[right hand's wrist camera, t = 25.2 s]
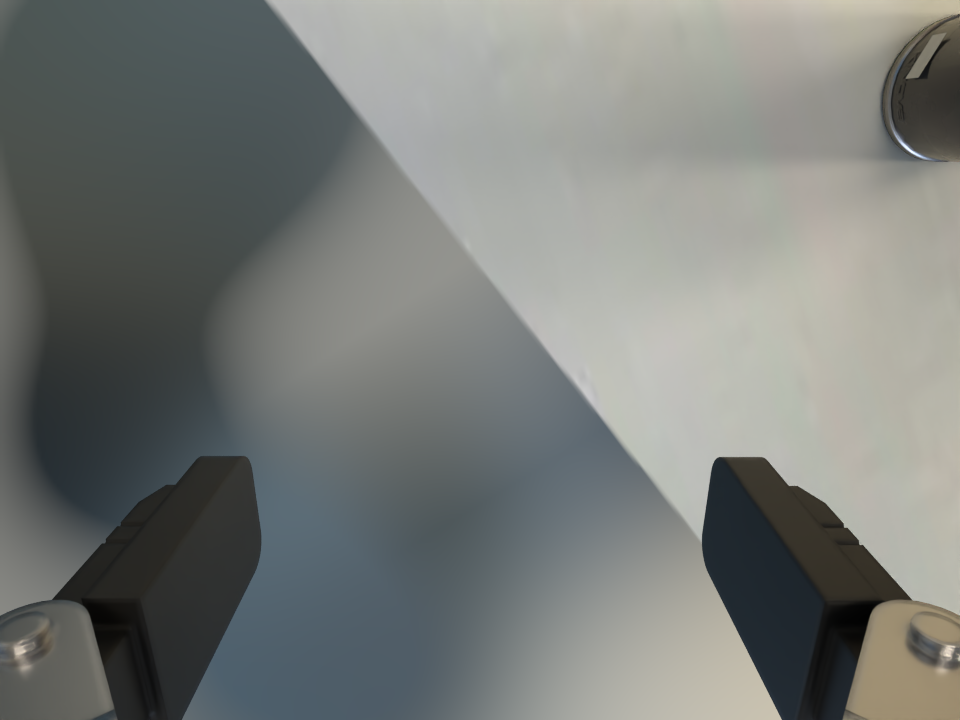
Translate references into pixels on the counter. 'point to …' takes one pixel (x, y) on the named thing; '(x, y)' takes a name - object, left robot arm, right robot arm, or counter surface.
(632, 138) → the counter surface
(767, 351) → the counter surface
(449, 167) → the counter surface
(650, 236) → the counter surface
